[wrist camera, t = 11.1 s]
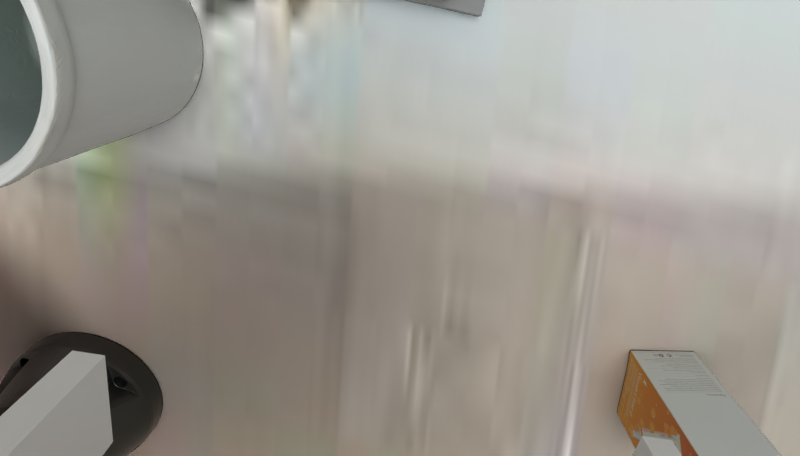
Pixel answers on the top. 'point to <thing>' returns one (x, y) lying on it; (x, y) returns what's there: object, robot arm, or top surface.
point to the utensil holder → (89, 75)
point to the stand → (456, 5)
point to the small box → (686, 407)
